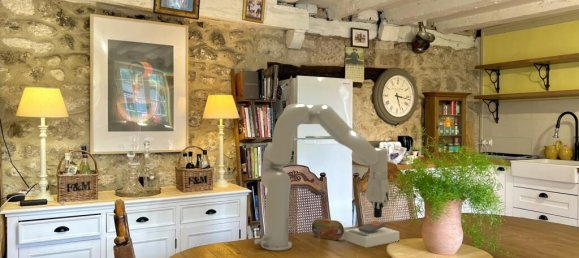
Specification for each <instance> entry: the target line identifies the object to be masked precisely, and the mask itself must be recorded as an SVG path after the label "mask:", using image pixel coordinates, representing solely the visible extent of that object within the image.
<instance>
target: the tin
mask: <svg viewBox="0 0 579 258" xmlns="http://www.w3.org/2000/svg"><path fill="white" fill-rule="evenodd" d="M311 230H312V234H313V235H314V236H315V237H316V238H319V239H325V240H330V241H338V240H340V239H341V238H342V237H344V230H345V228H344V226H343V224H342V222H341V221H338V220H334V219H328V218H327V219H326V218H317V219H315V220H314V221H313V222H312V224H311Z"/></svg>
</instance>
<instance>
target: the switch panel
mask: <svg viewBox="0 0 579 258" xmlns="http://www.w3.org/2000/svg"><path fill="white" fill-rule="evenodd" d="M398 240H399V241H400V231H398V230H394V229H391V228H387V227H386V226H385V227H382V228H380V229H378V230H375V231H373V232H371V233H366V232H363V231H359V227H358V228H357V227H356V228H351V229H344V233H343V241H346V242H349V243H352V244H355V245H357V246H361V247H363V248H372V247H376V246H381V245H386V244H390V243H396V242H399V241H398ZM395 241H396V242H395Z"/></svg>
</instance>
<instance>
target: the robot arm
mask: <svg viewBox="0 0 579 258" xmlns="http://www.w3.org/2000/svg"><path fill="white" fill-rule="evenodd" d="M300 125H319V126H321V127H322V129H323V130H324V131H325V132H326V133H327V134H328V135H329V136H330V137H331V138H332V139H333V140H334V141H336V142H337V143H338V144H340V145H342V146H344V147H346V148H348V149H349V150H351V151H352V152H351V159H352V160H353V162H354V163H356V164H357V165H361V166H367V167H369V173H368V175H369V177H368V180H367V185H366V193H365V194H366V195H365V197H366V200H368V203H370V204H371V205H372V209H373V217H374V218H377V219H379V218H382V217H383V216H382V215H383V213H382V212H383V211H382V210H383V208H384V207H385V206H389V201H390V183H389V179H388V157H389V155H388V153H389V151H388V149H386V148H384V147H374V146H373V145H372V144H371V143H370V142H369V141H368V140H367V139H366V138H365V137H364V136H362V135H361V134H360V133H358V132H357V131H356V130H355V129H353V128H352V127H350V125H348V123H346V121H345V120H344V119H343V118H342V117H341V116H340V115H339V114H338V113H337V112H336V111H335V110H334V108H332V107H331V106H330V105H328V104H322V103H321V104H314V105H313V104H305V103H301V102H300V103H291V104H287V106H285V108H284V109H283V111H282V113H281V114H280V115H279V117H278V118H277V120H276V122H275V125H274V127H273V128H274V129H273V134H272V140H271V142H270V143H269V144H267V146H266V147H265V149H264V150H263V156H262V164H261V170H260V171H261V172H260V180H261V183H262V185H263V186H264V187H265V188H266V196H265V217H264V218H265V221H264V225H265V228H264V235H262V237H261V238H256V239H254V240H253V241H254V245H260V246H261V248H262V249H264V250H267V251H276V252H277V251H286V250H289V249H291V248H292V247H293V244H292V242H291V241H289V217H290V215H289V213H290V210H289V209H290V207H289V206H290V193H291V185H292V182H291V176H289V174H288V173H287V172H286V171H284V166H285V167H286V166H288V165H289V164H290V162H291V160H292V155H293V147H294V138H295V134H296V130H297V129H298V127H299V126H300Z"/></svg>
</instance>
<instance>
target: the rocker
mask: <svg viewBox="0 0 579 258" xmlns="http://www.w3.org/2000/svg"><path fill="white" fill-rule="evenodd" d="M382 227H385V228H386V225H385V223H383V222H379V221H376V220H374V221H371V222H368V223H366V224H364V225H361V226H358V228H359V231H363V232H366V233H371V232H373V231H375V230H378V229H380V228H382Z"/></svg>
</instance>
